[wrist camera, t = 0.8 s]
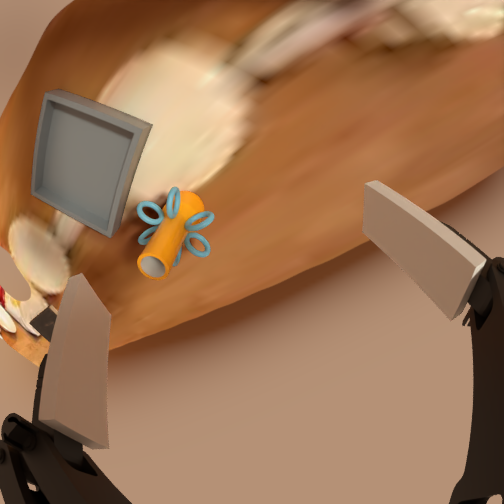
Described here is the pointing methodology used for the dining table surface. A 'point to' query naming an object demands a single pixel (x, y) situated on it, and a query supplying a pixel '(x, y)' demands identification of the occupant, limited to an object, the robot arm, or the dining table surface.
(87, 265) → the dining table surface
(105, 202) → the tray
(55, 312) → the hardcover book
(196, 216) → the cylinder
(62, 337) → the robot arm
